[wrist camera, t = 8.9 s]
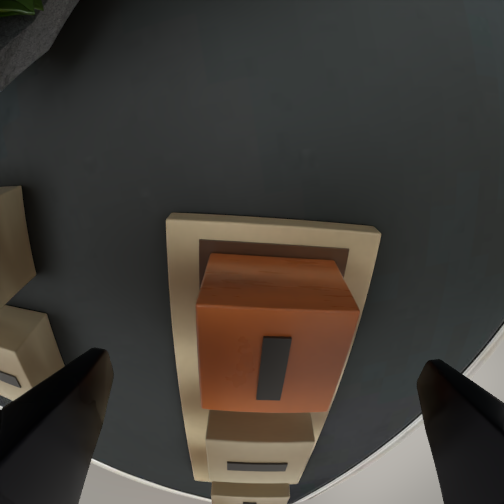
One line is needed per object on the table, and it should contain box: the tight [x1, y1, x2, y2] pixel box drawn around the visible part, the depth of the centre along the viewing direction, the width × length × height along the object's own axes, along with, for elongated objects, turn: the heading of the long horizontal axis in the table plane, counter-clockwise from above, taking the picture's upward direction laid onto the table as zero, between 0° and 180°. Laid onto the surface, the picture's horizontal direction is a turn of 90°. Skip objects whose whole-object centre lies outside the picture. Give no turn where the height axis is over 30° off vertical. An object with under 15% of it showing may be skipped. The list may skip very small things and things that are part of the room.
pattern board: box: [166, 213, 381, 484], centre depth 14 cm, size 18×7×1 cm, turn 176°
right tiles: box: [205, 410, 315, 504], centre depth 13 cm, size 10×4×3 cm, turn 176°
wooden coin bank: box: [195, 253, 360, 413], centre depth 9 cm, size 4×4×3 cm
